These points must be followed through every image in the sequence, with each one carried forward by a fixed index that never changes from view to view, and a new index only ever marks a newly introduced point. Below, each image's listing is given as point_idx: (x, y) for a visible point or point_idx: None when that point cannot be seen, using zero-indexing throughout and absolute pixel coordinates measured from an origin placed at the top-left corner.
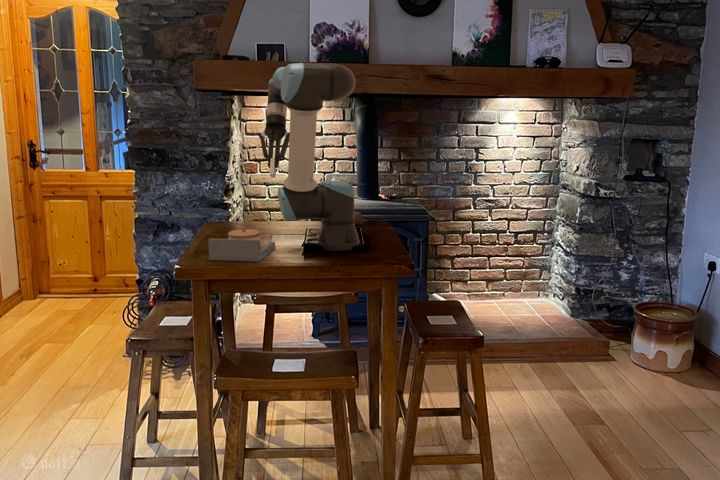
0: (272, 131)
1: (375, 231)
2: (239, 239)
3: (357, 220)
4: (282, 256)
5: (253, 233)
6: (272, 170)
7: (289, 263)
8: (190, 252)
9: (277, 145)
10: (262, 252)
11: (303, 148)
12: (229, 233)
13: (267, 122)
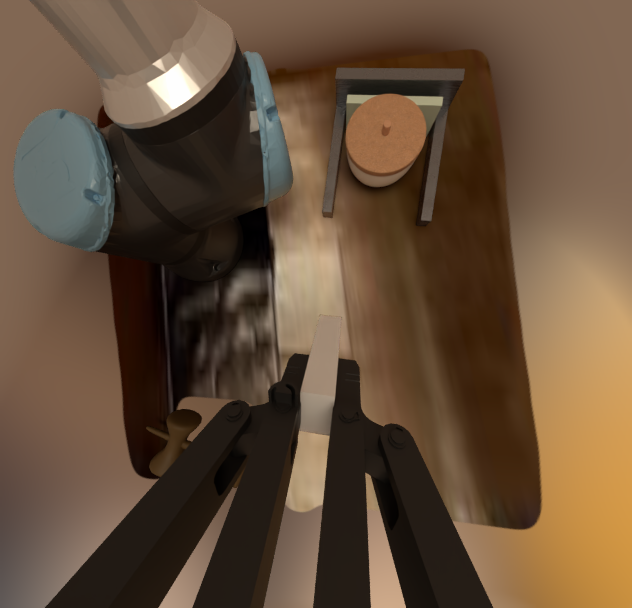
0: None
1: (143, 377)
2: (384, 76)
3: (166, 433)
4: (300, 154)
5: (357, 116)
6: (324, 329)
7: (280, 103)
8: (505, 177)
9: (226, 564)
10: (334, 122)
11: None
12: (420, 113)
13: None
